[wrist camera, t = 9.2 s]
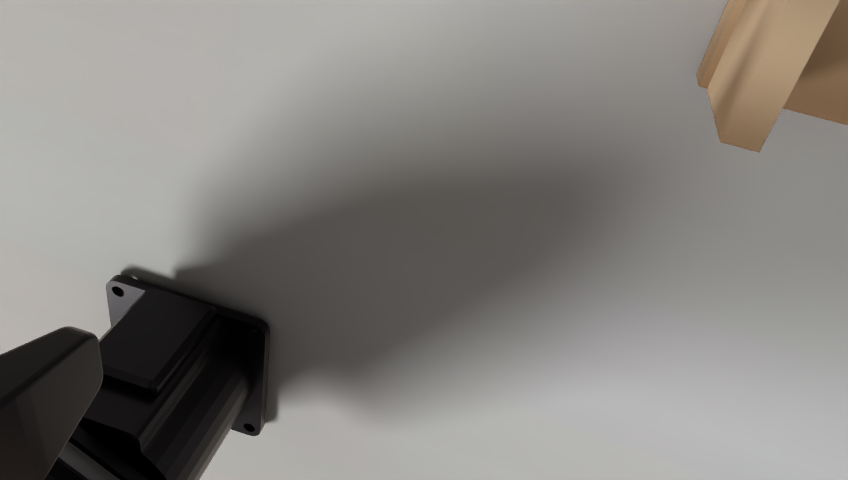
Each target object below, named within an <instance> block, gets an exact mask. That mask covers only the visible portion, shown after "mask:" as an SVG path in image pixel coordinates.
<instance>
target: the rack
mask: <svg viewBox="0 0 848 480" xmlns="http://www.w3.org/2000/svg"><path fill="white" fill-rule="evenodd" d="M697 79H698V84H699V86H700V87H704V88H707V90H708V94H709V98H710V102H711V106H712V110H713V114H714V119H715V123H716V127H717V131H718V135H719V139H720V142H722V143H726V144H730V145H733V146H737V147H741V148H744V149H748V150H752V151H756V152H760V150H761V148H762V146H763V144H764V142H765V141H766V139H767V137H768V135H769V133H770V131H771V129H772V127H773V125H774V124H775V122H776V120H777V118H778V116H779V114H780V112H781V110H782V108H784V109H788V110H792V111H795V112H799V113H803V114H807V115H811V116H815V117H818V118H822V119H826V120H830V121H834V122H838V123H841V124H845V125H848V0H729V1H728V3H727V6H726V8H725V10H724V12H723V15H722V17H721V19H720V22H719V24H718V26H717V29H716V31H715V33H714V35H713V38H712V40H711V42H710V45H709V47H708V49H707V52H706V54H705V56H704V58H703V61H702V63H701V65H700V68H699V70H698V72H697Z"/></svg>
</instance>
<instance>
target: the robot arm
mask: <svg viewBox="0 0 848 480" xmlns="http://www.w3.org/2000/svg"><path fill="white" fill-rule="evenodd" d="M106 291H107V298H108V306H109V314H110V321H111V328H110V329H109V330H108V331H107V332H106V333H105V334H104V335H103V336H102V337H101V338H100V339H99V340H98V338H97V337H96V336H95V334H93V333H91V332H87V331H84V330H81V329H78V328H75V327H70V326H69V327H63V328H60V329H57V330H55V331H53V332H51V333H48V334H46V335H44V336H42V337H39V338H37V339H35V340H33V341H30V342H28V343H26V344H24V345H21V346H19V347H17V348H15V349H12V350H10V351H8V352H6V353H3V354H1V355H0V480H199V479H200V478H201V476H202V474H203V473H204V471H205V470H206V468H207V466H208V465H209V463H210V461H211V460H212V458H213V457H214V455H215V453H216V452H217V450H218V448H219V447H220V445H221V444H222V442H223V440H224V439H225V437H226V435H227V434H228V432H229V431H230V429H232V430H235V431H238V432H241V433H244V434H247V435H251V436H257V435H258V434H260V432H261V430H262V428H263V427H264V423H265V406H266V389H267V372H268V355H269V337H270V329H269V326H268V325H267V323H266V322H264V321H263V320H262V319H259V318H257V317H254V316H251V315H247V314H244V313H241V312H238V311H235V310H232V309H228V308H225V307H222V306H219V305H216V304H212V303H209V302H206V301H203V300H200V299H197V298H193V297H190V296H187V295H184V294H181V293H177V292H174V291H171V290H168V289H165V288H162V287H158V286H155V285H152V284H149V283H146V282H142V281H139V280H136V279H133V278H130V277H127V276H123V275H116V276H114V277H113V278H112V279H111V280H110V281H109V282H108V283H107V285H106ZM254 330H255V331H254ZM256 331H257V332H256Z"/></svg>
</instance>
